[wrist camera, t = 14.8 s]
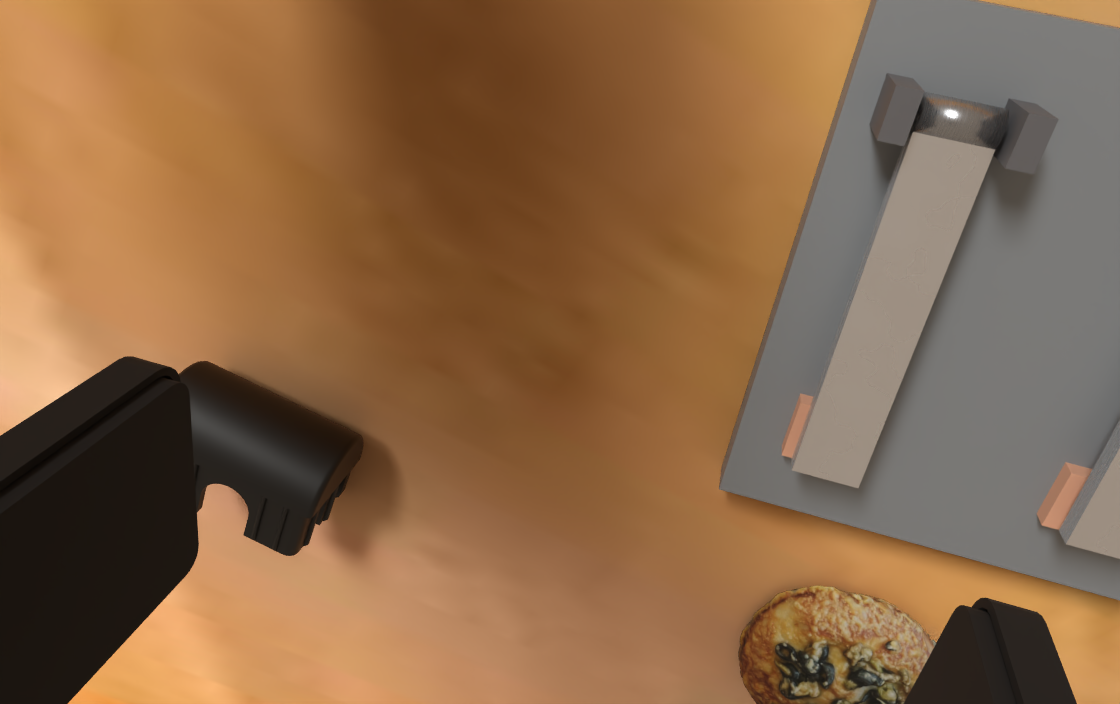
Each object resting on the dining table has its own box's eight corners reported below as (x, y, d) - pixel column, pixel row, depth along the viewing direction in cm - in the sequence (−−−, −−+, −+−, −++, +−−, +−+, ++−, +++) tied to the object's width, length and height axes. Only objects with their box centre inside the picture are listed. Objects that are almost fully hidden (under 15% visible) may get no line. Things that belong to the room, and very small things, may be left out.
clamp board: (877, -19, 33) (891, -12, 28) (1433, 88, 30) (1542, 114, 26) (721, 467, 44) (715, 525, 40) (1115, 575, 42) (1154, 650, 37)
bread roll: (755, 724, 52) (754, 788, 47) (724, 568, 49) (720, 619, 45) (948, 719, 49) (967, 787, 44) (926, 552, 46) (944, 606, 41)
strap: (921, 88, 32) (928, 94, 30) (1002, 106, 31) (1013, 111, 30) (791, 455, 39) (792, 473, 38) (855, 473, 39) (859, 491, 37)
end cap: (380, 411, 48) (324, 478, 42) (350, 498, 52) (294, 570, 46) (225, 336, 48) (148, 392, 42) (206, 427, 52) (132, 491, 46)
